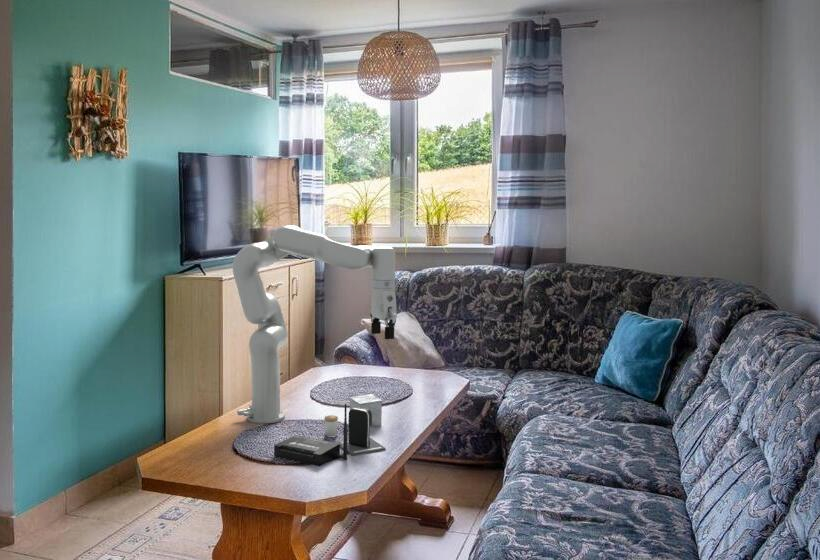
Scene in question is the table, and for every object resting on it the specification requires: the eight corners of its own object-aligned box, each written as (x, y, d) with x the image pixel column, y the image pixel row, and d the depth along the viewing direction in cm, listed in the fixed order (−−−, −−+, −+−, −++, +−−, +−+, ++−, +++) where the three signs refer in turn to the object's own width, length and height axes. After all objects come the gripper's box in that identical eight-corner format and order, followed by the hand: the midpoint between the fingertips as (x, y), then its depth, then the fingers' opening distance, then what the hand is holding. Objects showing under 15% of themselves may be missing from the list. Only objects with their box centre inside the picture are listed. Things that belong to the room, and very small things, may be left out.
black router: (270, 460, 207) (270, 402, 205) (298, 445, 220) (298, 391, 218) (328, 472, 198) (329, 412, 196) (354, 456, 211) (354, 400, 209)
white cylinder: (327, 438, 225) (327, 420, 224) (322, 434, 229) (322, 416, 228) (339, 436, 227) (339, 418, 226) (334, 432, 231) (334, 414, 230)
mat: (352, 455, 210) (352, 453, 210) (337, 444, 220) (337, 442, 220) (385, 450, 216) (385, 447, 216) (369, 439, 225) (369, 436, 225)
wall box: (359, 429, 235) (359, 403, 234) (348, 421, 242) (348, 397, 241) (382, 425, 239) (383, 400, 238) (371, 418, 246) (371, 394, 245)
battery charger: (373, 445, 218) (373, 408, 217) (366, 448, 215) (367, 411, 213) (354, 440, 222) (354, 404, 220) (347, 444, 218) (347, 408, 217)
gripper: (406, 287, 228) (405, 340, 230) (381, 281, 243) (380, 330, 245) (385, 288, 224) (384, 342, 226) (361, 282, 239) (361, 332, 241)
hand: (382, 336), depth 235 cm, fingers open, 9 cm apart
